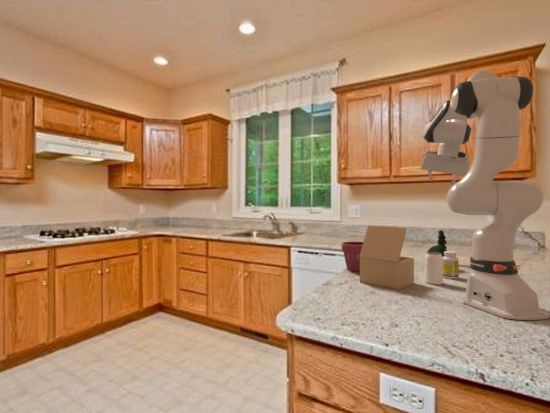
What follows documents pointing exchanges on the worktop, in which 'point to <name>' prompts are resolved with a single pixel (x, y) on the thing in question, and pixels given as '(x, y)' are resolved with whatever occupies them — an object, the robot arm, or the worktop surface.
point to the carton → (387, 272)
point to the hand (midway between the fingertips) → (441, 182)
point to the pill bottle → (450, 265)
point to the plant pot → (352, 255)
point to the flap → (383, 243)
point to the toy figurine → (440, 244)
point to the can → (433, 268)
